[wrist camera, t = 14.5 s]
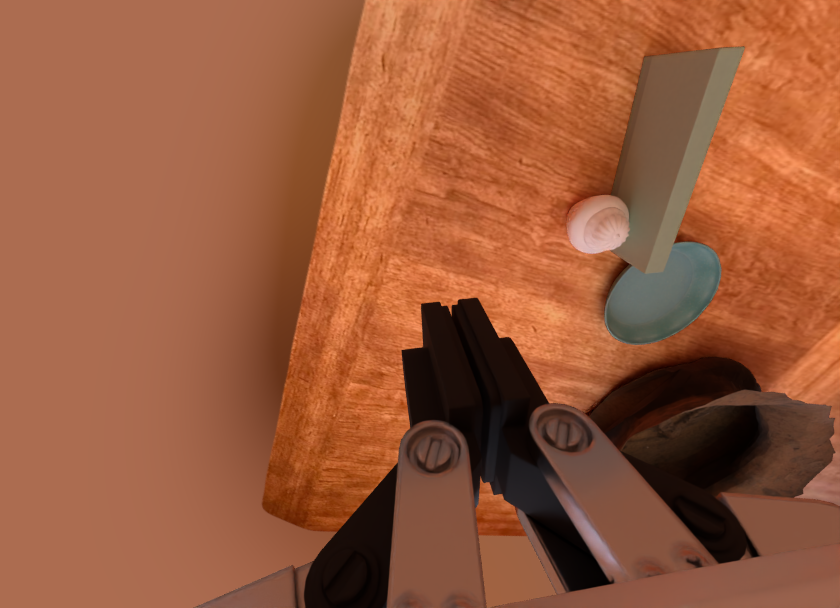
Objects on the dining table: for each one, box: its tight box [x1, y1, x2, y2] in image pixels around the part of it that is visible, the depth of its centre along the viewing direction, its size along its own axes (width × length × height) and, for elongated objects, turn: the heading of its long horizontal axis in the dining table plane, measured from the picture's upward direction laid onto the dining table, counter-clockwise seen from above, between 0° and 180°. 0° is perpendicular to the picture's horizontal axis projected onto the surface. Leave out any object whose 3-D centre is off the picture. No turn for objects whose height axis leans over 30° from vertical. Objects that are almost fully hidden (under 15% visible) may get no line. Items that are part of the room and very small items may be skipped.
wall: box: [610, 46, 745, 274], centre depth 33 cm, size 18×5×8 cm, turn 3°
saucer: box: [604, 242, 721, 345], centre depth 44 cm, size 15×15×3 cm
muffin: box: [567, 195, 630, 254], centre depth 36 cm, size 6×6×7 cm
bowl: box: [589, 357, 835, 498], centre depth 55 cm, size 34×33×15 cm
